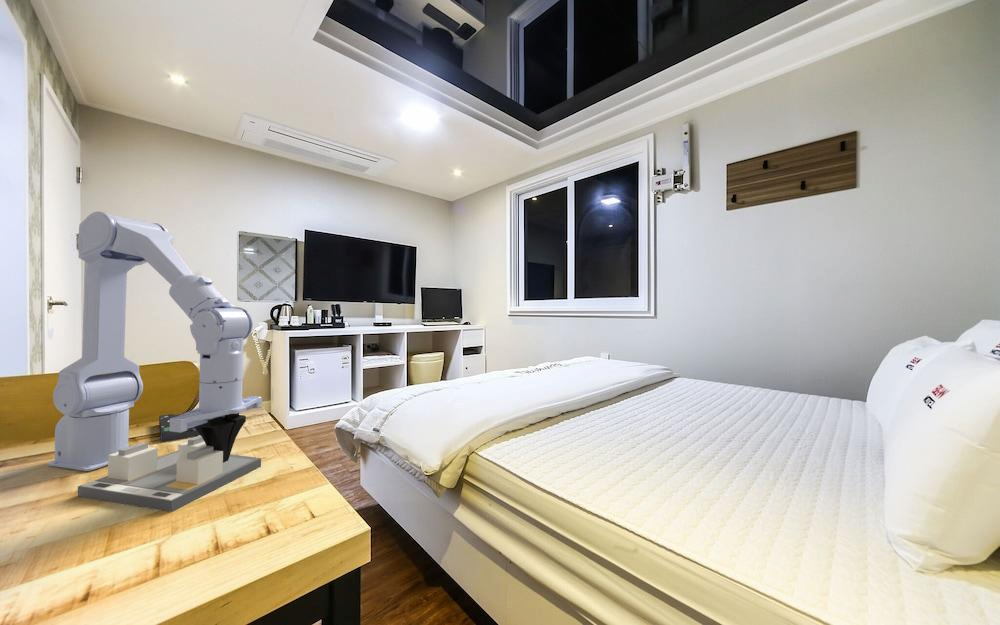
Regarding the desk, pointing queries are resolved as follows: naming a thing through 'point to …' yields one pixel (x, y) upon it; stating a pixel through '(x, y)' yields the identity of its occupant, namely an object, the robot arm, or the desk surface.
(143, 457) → the tab
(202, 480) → the tab
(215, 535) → the desk surface
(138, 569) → the desk surface
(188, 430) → the disk drive
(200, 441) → the tab
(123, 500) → the switch panel
